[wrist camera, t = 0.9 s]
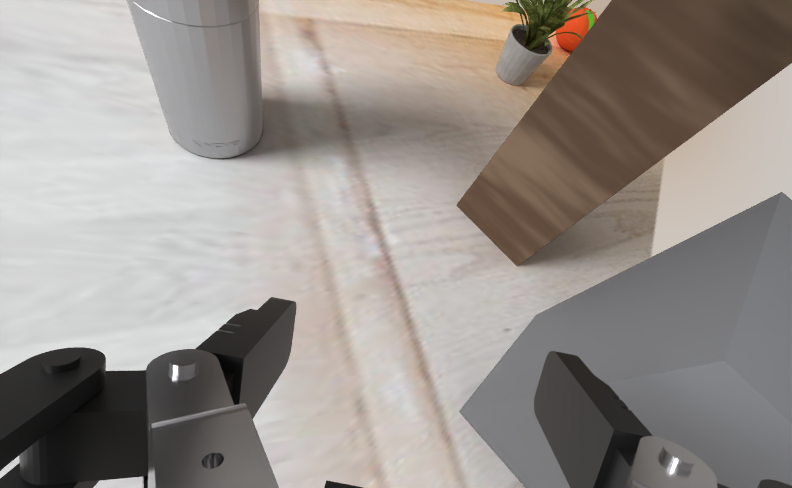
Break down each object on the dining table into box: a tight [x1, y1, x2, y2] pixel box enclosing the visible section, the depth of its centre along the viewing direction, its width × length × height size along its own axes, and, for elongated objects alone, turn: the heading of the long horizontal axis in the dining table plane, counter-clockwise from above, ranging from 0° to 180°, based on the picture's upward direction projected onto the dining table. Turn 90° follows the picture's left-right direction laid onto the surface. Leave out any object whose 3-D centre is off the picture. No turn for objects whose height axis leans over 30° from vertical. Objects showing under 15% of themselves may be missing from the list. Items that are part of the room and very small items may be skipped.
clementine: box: [556, 7, 597, 51], centre depth 68 cm, size 8×7×7 cm
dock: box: [459, 192, 792, 488], centre depth 26 cm, size 14×9×23 cm, turn 134°
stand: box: [457, 0, 792, 266], centre depth 34 cm, size 13×10×30 cm
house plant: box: [496, 0, 594, 85], centre depth 55 cm, size 14×14×16 cm
